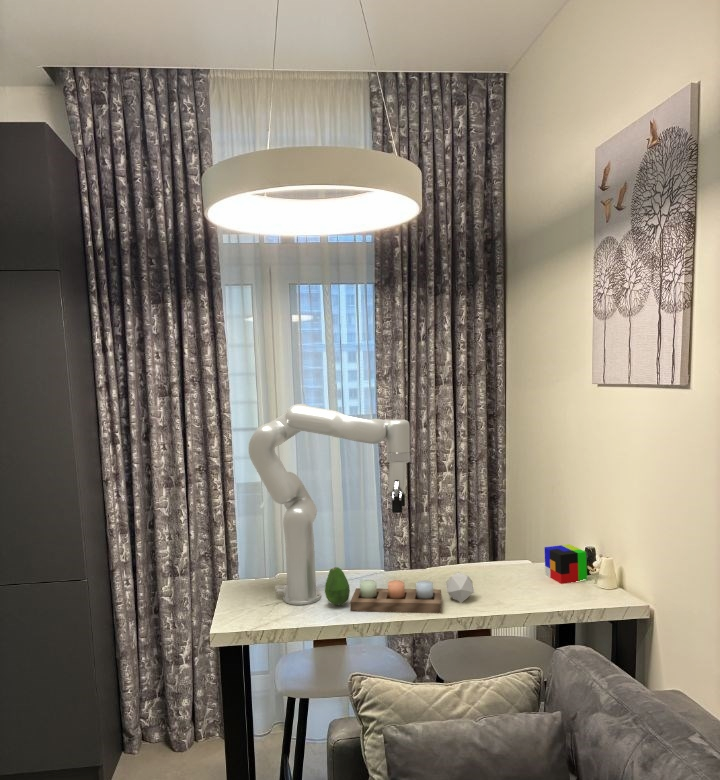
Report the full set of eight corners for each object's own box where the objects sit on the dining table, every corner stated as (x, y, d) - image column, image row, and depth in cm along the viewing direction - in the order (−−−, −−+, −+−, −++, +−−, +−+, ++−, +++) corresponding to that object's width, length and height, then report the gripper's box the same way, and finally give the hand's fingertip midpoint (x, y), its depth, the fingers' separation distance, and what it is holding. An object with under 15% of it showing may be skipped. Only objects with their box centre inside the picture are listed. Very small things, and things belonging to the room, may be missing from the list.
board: (350, 611, 184) (350, 601, 184) (356, 597, 196) (356, 588, 196) (441, 613, 180) (440, 603, 180) (441, 598, 192) (441, 589, 192)
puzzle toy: (545, 575, 211) (544, 547, 211) (570, 571, 213) (569, 544, 213) (561, 584, 201) (560, 555, 201) (587, 580, 204) (586, 551, 203)
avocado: (334, 598, 195) (333, 562, 195) (354, 602, 191) (353, 565, 191) (320, 607, 189) (319, 569, 188) (340, 611, 184) (339, 573, 184)
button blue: (416, 598, 184) (415, 586, 184) (417, 592, 190) (416, 580, 190) (433, 599, 184) (432, 586, 184) (433, 593, 189) (433, 580, 189)
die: (480, 603, 188) (477, 572, 194) (464, 596, 183) (462, 564, 189) (457, 608, 193) (455, 577, 199) (441, 601, 188) (440, 570, 194)
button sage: (359, 597, 187) (358, 585, 187) (361, 592, 192) (361, 579, 192) (375, 598, 186) (375, 585, 186) (377, 592, 192) (377, 580, 191)
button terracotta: (387, 598, 186) (387, 585, 186) (389, 592, 191) (388, 580, 191) (404, 598, 185) (403, 586, 185) (405, 592, 190) (404, 580, 190)
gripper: (389, 453, 203) (390, 503, 203) (383, 460, 186) (384, 514, 186) (411, 454, 202) (412, 504, 202) (407, 461, 185) (407, 515, 185)
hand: (398, 509), depth 194 cm, fingers open, 9 cm apart
